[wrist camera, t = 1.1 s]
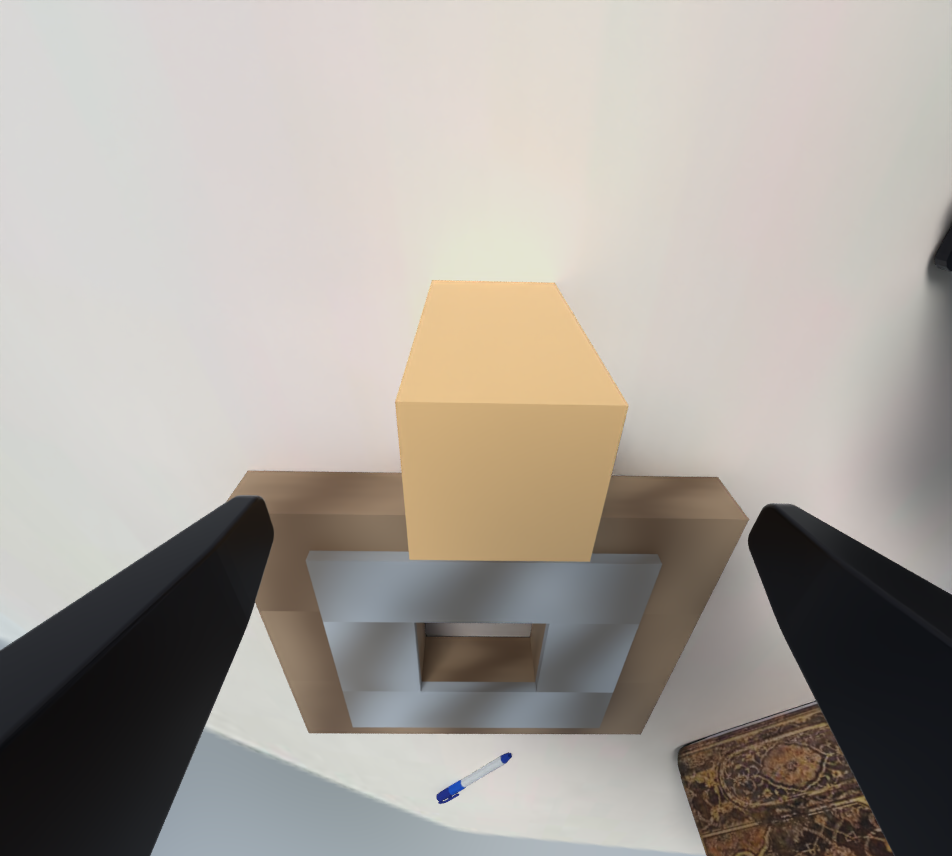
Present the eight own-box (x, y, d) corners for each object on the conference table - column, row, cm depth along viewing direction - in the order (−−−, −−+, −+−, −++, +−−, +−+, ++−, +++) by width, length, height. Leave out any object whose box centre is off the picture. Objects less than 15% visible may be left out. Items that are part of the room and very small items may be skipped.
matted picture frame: (718, 477, 19) (756, 529, 16) (628, 690, 28) (643, 743, 26) (247, 470, 18) (211, 522, 16) (321, 689, 28) (306, 742, 26)
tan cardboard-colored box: (554, 282, 14) (628, 405, 7) (541, 391, 16) (590, 561, 10) (431, 280, 14) (395, 401, 7) (435, 389, 16) (409, 560, 10)
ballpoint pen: (444, 793, 39) (443, 808, 38) (435, 791, 38) (434, 806, 38) (512, 750, 34) (513, 765, 33) (503, 747, 34) (503, 762, 33)
